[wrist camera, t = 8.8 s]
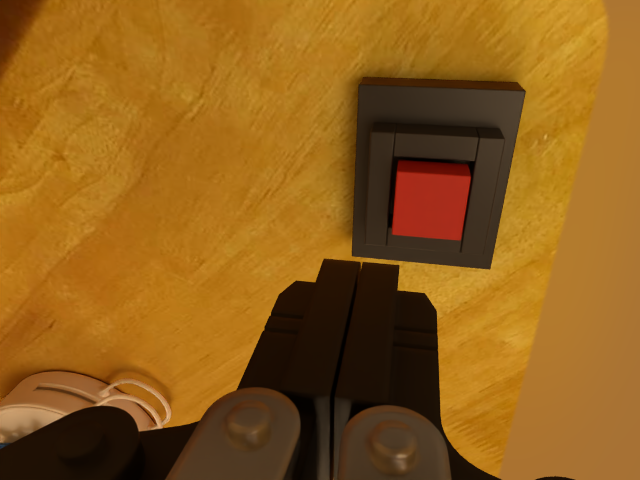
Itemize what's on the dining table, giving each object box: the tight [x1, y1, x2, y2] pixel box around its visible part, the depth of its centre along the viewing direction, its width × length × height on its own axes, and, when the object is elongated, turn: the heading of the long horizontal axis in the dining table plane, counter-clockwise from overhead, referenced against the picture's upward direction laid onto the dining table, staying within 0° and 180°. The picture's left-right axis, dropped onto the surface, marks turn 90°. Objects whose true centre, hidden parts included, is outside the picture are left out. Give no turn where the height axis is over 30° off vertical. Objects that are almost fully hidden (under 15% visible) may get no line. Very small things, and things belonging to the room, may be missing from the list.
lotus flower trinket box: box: [0, 371, 171, 449], centre depth 42 cm, size 7×16×20 cm
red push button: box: [352, 77, 526, 269], centre depth 26 cm, size 10×8×4 cm
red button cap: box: [392, 160, 471, 240], centre depth 24 cm, size 3×3×2 cm
